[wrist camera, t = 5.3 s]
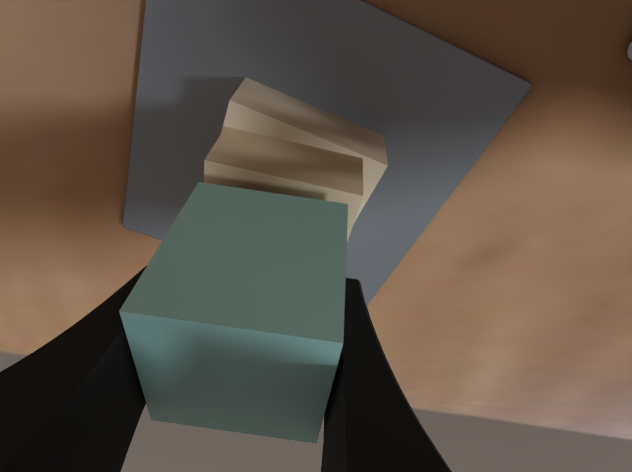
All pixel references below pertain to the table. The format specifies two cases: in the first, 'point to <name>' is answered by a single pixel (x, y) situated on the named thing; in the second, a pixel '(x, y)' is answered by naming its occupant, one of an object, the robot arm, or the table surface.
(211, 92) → the felt mat
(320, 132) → the tower base
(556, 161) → the table surface
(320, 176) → the tower mid
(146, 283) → the teal block
